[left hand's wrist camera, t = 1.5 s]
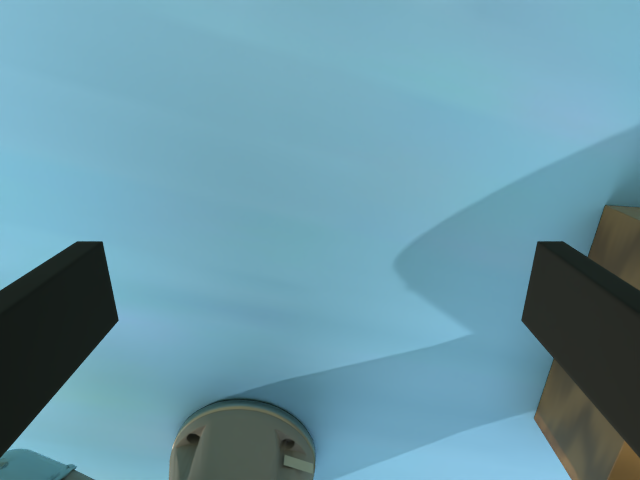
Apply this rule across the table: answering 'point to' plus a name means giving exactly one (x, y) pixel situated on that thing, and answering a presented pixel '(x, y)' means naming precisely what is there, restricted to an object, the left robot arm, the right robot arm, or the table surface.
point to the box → (568, 399)
